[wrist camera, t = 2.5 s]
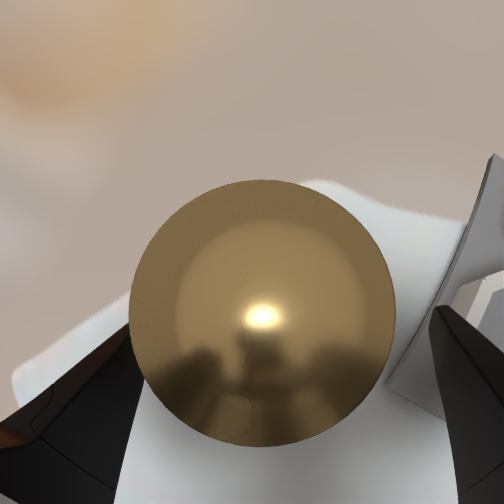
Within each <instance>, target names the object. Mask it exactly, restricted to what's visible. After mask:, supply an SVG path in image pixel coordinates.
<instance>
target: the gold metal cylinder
mask: <svg viewBox="0 0 504 504" xmlns="http://www.w3.org/2000/svg"><path fill="white" fill-rule="evenodd" d="M395 322H396V305H395V295H394V289H393V283H392V279H391V276H390V273H389V270H388V267H387V264H386V261H385V259H384V257H383V255H382V253H381V251H380V249H379V247H378V246H377V244H376V243H375V241H374V240H373V238H372V237H371V235H370V234H369V232H368V231H367V230H366V229H365V228H364V227H363V225H362V224H361V223H360V222H359V221H358V220H357V219H356V218H355V217H354V216H353V215H352V214H350V213H349V212H348V211H347V210H346V209H344V208H343V207H342V206H341V205H339V204H338V203H336V202H335V201H333V200H332V199H330V198H328V197H327V196H325V195H323V194H321V193H319V192H317V191H314V190H312V189H310V188H307V187H304V186H301V185H297V184H294V183H289V182H283V181H277V180H251V181H241V182H237V183H232V184H228V185H224V186H222V187H219V188H216V189H213V190H210V191H208V192H206V193H204V194H202V195H200V196H198V197H197V198H195V199H193V200H192V201H190V202H189V203H187V204H186V205H184V206H183V207H182V208H180V209H179V210H178V211H177V212H176V213H175V214H173V215H172V216H171V217H170V218H169V219H168V220H167V221H166V222H165V223H164V224H163V226H162V227H161V228H160V229H159V230H158V232H157V233H156V234H155V236H154V237H153V238H152V240H151V241H150V243H149V245H148V246H147V248H146V250H145V252H144V254H143V255H142V258H141V260H140V262H139V265H138V267H137V270H136V273H135V276H134V280H133V284H132V288H131V294H130V300H129V328H130V336H131V341H132V346H133V350H134V353H135V356H136V359H137V362H138V365H139V367H140V369H141V371H142V374H143V376H144V378H145V380H146V381H147V383H148V384H149V386H150V388H151V389H152V391H153V392H154V394H155V395H156V396H157V397H158V399H159V400H160V401H161V402H162V403H163V404H164V406H165V407H166V408H167V409H168V410H169V411H171V412H172V413H173V414H174V415H175V416H176V417H177V418H178V419H180V420H181V421H183V422H184V423H185V424H187V425H188V426H190V427H191V428H193V429H195V430H197V431H198V432H200V433H202V434H204V435H206V436H208V437H211V438H214V439H217V440H219V441H222V442H226V443H230V444H235V445H240V446H249V447H272V446H281V445H286V444H291V443H295V442H298V441H301V440H304V439H307V438H310V437H313V436H315V435H317V434H319V433H321V432H323V431H325V430H327V429H329V428H331V427H332V426H334V425H335V424H337V423H338V422H340V421H341V420H342V419H344V418H345V417H347V416H348V415H349V414H350V413H351V412H352V411H353V410H354V409H355V408H356V407H357V406H358V405H359V404H360V403H361V402H362V401H363V400H364V399H365V397H366V396H367V395H368V394H369V392H370V391H371V390H372V388H373V387H374V385H375V383H376V382H377V380H378V378H379V377H380V375H381V373H382V371H383V369H384V366H385V364H386V362H387V359H388V357H389V354H390V350H391V346H392V342H393V338H394V331H395Z"/></svg>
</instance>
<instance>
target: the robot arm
mask: <svg viewBox="0 0 504 504" xmlns="http://www.w3.org/2000/svg"><path fill="white" fill-rule="evenodd" d="M428 332H429V338H430V343H431V349H432V355H433V362H434V368H435V374H436V379H437V384H438V388H439V392H440V396H441V400H442V404H443V409H444V413H445V418H446V423H447V428H448V433H449V438H450V444H451V450H452V456H453V462H454V469H455V476H456V484H457V493H458V504H504V353H503V352H502V351H501V350H500V349H499V348H498V347H497V346H495V345H494V344H493V343H492V342H491V341H490V340H489V339H488V338H486V337H485V336H484V335H483V334H482V333H481V332H479V331H478V330H477V329H476V328H475V327H474V326H472V325H471V324H470V323H469V322H468V321H467V320H465V319H464V318H463V317H462V316H461V315H459V314H458V313H457V312H456V311H455V310H453V309H452V308H451V307H450V306H448V305H446V304H444V305H437V306H435V307H434V308H433V311H432V315H431V319H430V323H429V327H428ZM144 379H145V378H144V376H143V374H142V371H141V369H140V367H139V365H138V362H137V359H136V356H135V353H134V350H133V346H132V341H131V336H130V328H129V323H127V324H126V325H125V326H123V327H122V328H121V329H120V330H118V331H117V332H116V333H115V334H113V335H112V336H111V337H110V338H108V339H107V340H106V341H105V342H103V343H102V344H101V345H100V346H98V347H97V348H96V349H95V350H93V351H92V352H91V353H90V354H88V355H87V356H86V357H85V358H84V359H82V360H81V361H80V362H79V363H77V364H76V365H75V366H74V367H73V368H71V369H70V370H69V371H68V372H66V373H65V374H64V375H63V376H62V377H60V378H59V379H58V380H57V381H55V382H54V384H52V385H51V386H49V387H48V388H47V389H46V390H44V391H43V392H42V393H41V394H39V395H38V396H37V397H36V398H34V399H33V400H32V401H30V402H29V403H27V404H26V405H25V406H23V407H22V408H20V409H19V410H18V411H16V412H15V413H13V414H12V415H10V416H9V417H8V418H6V419H5V420H3V421H2V422H0V504H114V499H115V495H116V491H115V490H116V489H117V485H118V481H119V476H120V472H121V468H122V464H123V459H124V455H125V451H126V447H127V443H128V440H129V436H130V432H131V428H132V424H133V421H134V417H135V413H136V410H137V406H138V402H139V399H140V395H141V392H142V388H143V384H144Z"/></svg>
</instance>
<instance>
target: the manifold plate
mask: <svg viewBox="0 0 504 504" xmlns="http://www.w3.org/2000/svg"><path fill="white" fill-rule="evenodd" d="M444 304H446V305H448V306H450V307H451V308H452V309H453V310H455V311H456V312H457V313H458V314H459V315H461V316H462V317H463V318H464V319H465V320H467V321H468V322H469V323H470V324H471V325H472V326H474V327H475V328H476V329H477V330H478V331H479V332H481V333H482V334H483V335H484V336H485V337H486V338H488V339H489V340H490V341H491V342H492V343H493V344H494V345H495V346H497V347H498V348H499V349H500V350H501V351H502V352H503V353H504V160H503V159H502V158H500V157H499V156H498V155H496V154H495V153H494V154H493V155H492V157H491V158H490V159H489V161H488V164H487V167H486V171H485V174H484V178H483V181H482V184H481V188H480V191H479V194H478V197H477V200H476V203H475V205H474V209H473V211H472V214H471V217H470V219H469V222H468V225H467V227H466V230H465V233H464V235H463V238H462V240H461V243H460V245H459V248H458V250H457V252H456V255H455V257H454V259H453V262H452V264H451V266H450V268H449V271H448V273H447V275H446V277H445V279H444V281H443V283H442V286H441V288H440V290H439V292H438V294H437V296H436V298H435V300H434V302H433V304H432V306H431V308H430V310H429V311H428V313H427V315H426V317H425V319H424V321H423V323H422V324H421V326H420V328H419V330H418V332H417V333H416V335H415V337H414V339H413V340H412V342H411V344H410V346H409V347H408V349H407V351H406V352H405V354H404V356H403V357H402V359H401V360H400V362H399V364H398V365H397V367H396V368H395V370H394V372H393V373H392V375H391V376H390V378H389V379H388V381H387V382H386V384H385V386H386V387H387V388H389V389H390V390H392V391H394V392H395V393H397V394H399V395H400V396H402V397H404V398H406V399H407V400H409V401H411V402H412V403H414V404H416V405H418V406H419V407H421V408H423V409H425V410H426V411H428V412H430V413H432V414H433V415H435V416H437V417H439V418H441V419H442V420H444V421H446V418H445V413H444V409H443V404H442V400H441V396H440V392H439V388H438V384H437V379H436V374H435V368H434V362H433V355H432V349H431V343H430V338H429V332H428V327H429V323H430V319H431V315H432V311H433V308H434V307H435V306H437V305H444Z"/></svg>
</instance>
